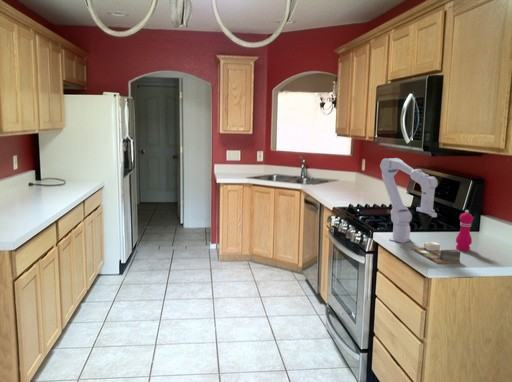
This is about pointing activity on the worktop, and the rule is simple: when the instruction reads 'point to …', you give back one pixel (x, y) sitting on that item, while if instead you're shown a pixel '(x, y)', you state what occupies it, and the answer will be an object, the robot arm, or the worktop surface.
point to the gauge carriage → (431, 246)
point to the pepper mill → (464, 232)
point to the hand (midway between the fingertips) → (424, 228)
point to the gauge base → (437, 260)
